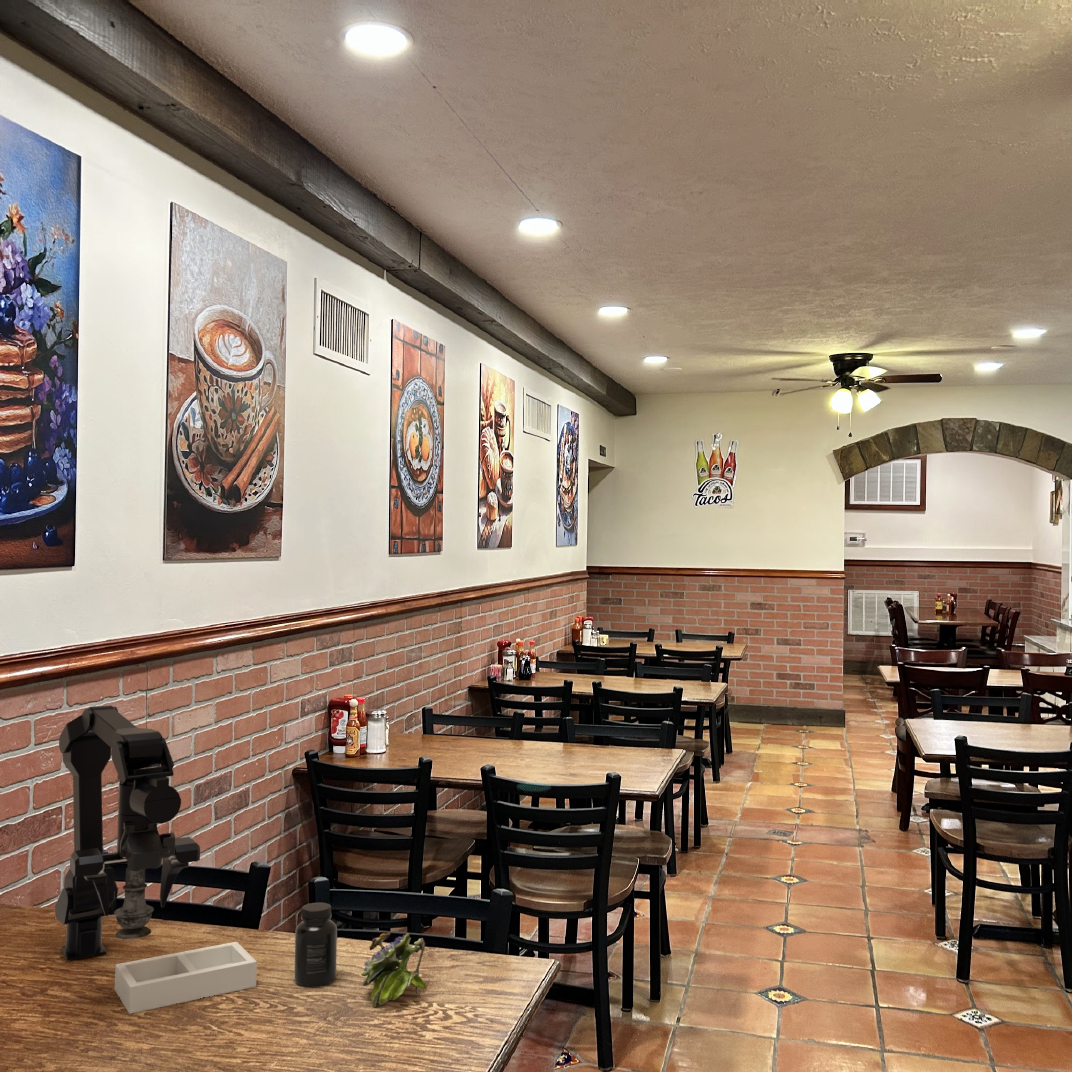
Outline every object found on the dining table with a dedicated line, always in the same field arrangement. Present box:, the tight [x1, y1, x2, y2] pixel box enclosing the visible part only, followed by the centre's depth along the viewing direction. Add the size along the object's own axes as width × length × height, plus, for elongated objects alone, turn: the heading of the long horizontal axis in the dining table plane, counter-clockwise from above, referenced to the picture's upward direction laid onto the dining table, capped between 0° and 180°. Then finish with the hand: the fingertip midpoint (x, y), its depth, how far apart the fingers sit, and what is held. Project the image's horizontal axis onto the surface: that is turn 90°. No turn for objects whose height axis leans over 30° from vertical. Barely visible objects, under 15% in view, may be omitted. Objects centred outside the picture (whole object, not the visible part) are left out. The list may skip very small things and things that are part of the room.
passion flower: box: [361, 932, 427, 1008], centre depth 164 cm, size 11×11×12 cm
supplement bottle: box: [293, 902, 338, 988], centre depth 169 cm, size 7×7×12 cm
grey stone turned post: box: [113, 865, 155, 940], centre depth 162 cm, size 6×6×12 cm
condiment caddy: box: [114, 941, 258, 1015], centre depth 165 cm, size 10×20×4 cm, turn 124°
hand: (134, 910), depth 162 cm, fingers closed on grey stone turned post, 8 cm apart
